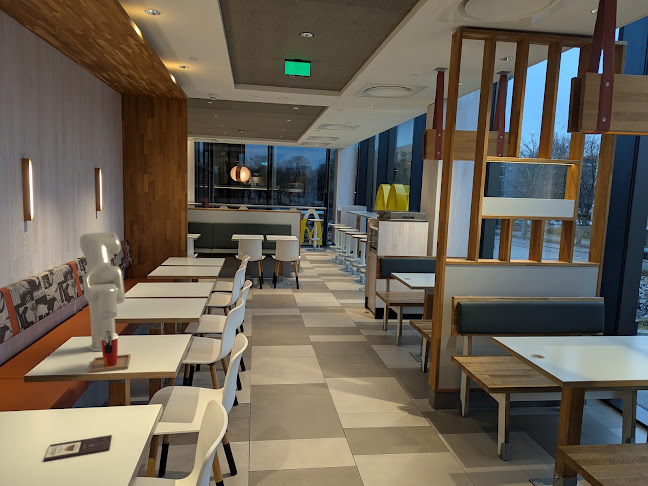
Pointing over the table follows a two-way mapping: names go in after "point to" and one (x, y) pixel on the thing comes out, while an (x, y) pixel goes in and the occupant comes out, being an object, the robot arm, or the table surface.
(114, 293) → the robot arm
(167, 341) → the table surface
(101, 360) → the tray
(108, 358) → the paper cup
